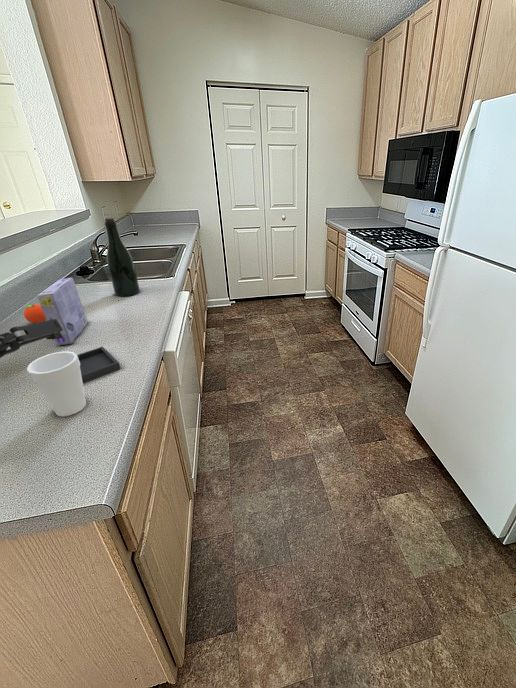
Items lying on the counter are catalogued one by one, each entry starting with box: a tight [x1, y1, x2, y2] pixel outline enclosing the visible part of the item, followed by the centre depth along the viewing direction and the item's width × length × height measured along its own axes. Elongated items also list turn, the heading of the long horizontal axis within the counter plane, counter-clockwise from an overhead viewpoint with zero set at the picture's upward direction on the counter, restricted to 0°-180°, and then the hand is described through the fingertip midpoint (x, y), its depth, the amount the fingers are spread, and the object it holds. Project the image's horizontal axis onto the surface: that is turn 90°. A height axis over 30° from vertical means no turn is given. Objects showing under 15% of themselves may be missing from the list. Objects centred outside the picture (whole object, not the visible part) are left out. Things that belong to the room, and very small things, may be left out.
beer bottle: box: [104, 217, 141, 297], centre depth 145 cm, size 10×10×33 cm
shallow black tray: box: [76, 346, 121, 384], centre depth 95 cm, size 14×14×2 cm
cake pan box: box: [36, 277, 89, 346], centre depth 112 cm, size 19×5×18 cm, turn 14°
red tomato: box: [20, 304, 47, 324], centre depth 123 cm, size 8×7×7 cm
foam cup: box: [26, 350, 87, 417], centre depth 77 cm, size 10×9×13 cm
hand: (24, 348), depth 70 cm, fingers open, 13 cm apart
